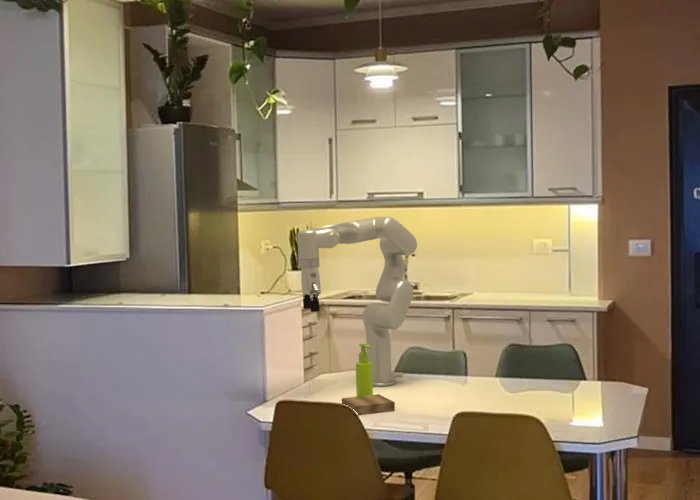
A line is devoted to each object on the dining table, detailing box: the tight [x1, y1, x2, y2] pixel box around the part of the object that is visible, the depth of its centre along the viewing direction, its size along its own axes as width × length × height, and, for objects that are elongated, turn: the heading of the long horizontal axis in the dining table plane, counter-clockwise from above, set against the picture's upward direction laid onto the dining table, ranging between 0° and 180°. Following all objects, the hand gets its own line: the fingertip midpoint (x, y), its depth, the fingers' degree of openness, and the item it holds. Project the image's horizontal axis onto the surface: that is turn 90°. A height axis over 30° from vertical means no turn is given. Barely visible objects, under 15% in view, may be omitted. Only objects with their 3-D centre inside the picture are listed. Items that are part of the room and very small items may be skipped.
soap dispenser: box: [355, 343, 374, 397], centre depth 324 cm, size 6×7×20 cm
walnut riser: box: [341, 394, 396, 416], centre depth 309 cm, size 14×14×3 cm
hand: (311, 310), depth 329 cm, fingers open, 9 cm apart
